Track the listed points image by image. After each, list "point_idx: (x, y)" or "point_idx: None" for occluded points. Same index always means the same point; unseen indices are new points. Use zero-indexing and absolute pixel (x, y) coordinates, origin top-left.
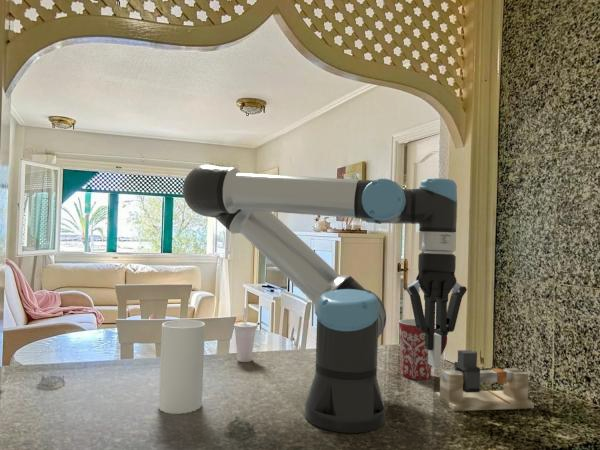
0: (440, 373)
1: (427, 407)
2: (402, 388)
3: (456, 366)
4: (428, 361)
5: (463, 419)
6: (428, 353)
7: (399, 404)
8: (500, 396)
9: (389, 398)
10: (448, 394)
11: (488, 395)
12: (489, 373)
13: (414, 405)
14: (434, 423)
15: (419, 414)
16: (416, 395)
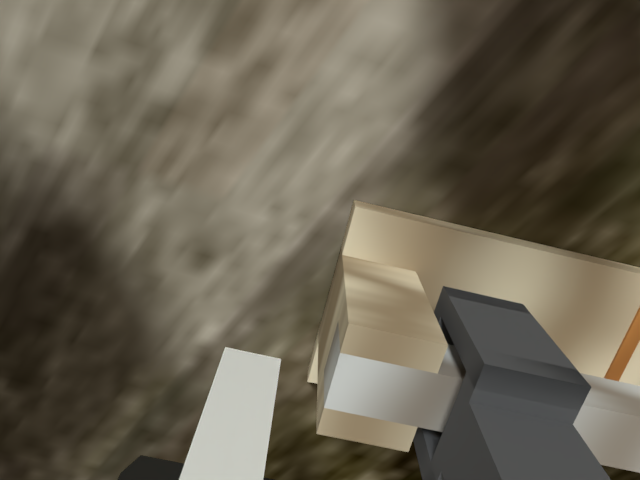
0: (346, 313)
1: (216, 300)
2: (256, 8)
3: (467, 372)
4: (220, 364)
5: (282, 439)
6: (205, 404)
7: (99, 229)
8: (638, 359)
9: (86, 139)
10: (320, 354)
11: (594, 331)
12: (613, 465)
13: (168, 262)
14: (141, 433)
15: (130, 351)
16: (266, 146)
